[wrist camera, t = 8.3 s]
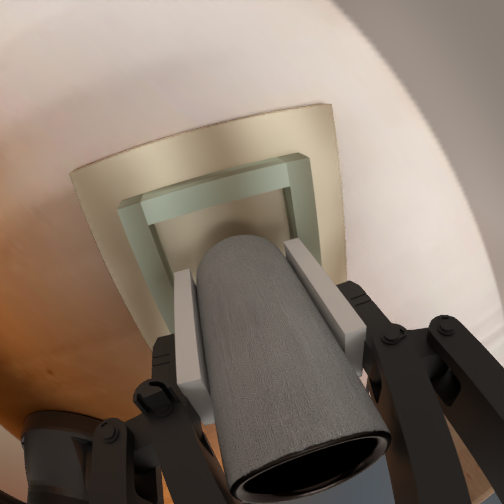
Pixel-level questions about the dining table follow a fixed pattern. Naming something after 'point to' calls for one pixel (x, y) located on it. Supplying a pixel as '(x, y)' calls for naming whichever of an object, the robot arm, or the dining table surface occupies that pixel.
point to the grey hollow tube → (279, 379)
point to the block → (471, 471)
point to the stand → (213, 202)
